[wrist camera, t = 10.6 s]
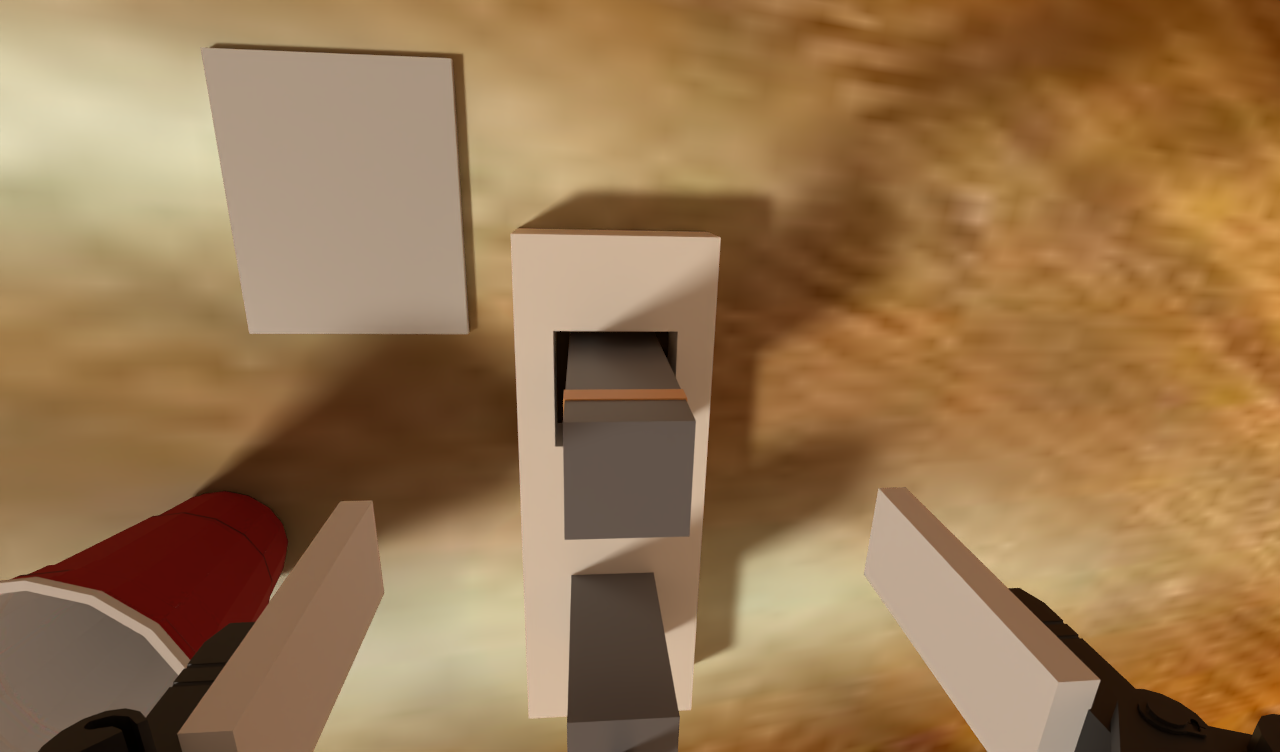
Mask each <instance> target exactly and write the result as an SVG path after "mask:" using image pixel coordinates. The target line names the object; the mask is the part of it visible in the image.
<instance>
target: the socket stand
mask: <svg viewBox="0 0 1280 752" xmlns="http://www.w3.org/2000/svg"><path fill="white" fill-rule="evenodd" d="M720 242H721V237H719V236H716V235H714V234H712V233H709V232H696V231H642V230H588V229H534V228H517V229H516V230H515V231H513V232H512V233H511V257H512V283H513V310H514V337H515V364H516V390H517V417H518V444H519V471H520V497H521V524H522V551H523V578H524V605H525V631H526V658H527V685H528V712H529V718H546V717H565V716H567V747H568V752H678V737H679V719H680V716H679V710H691V702H692V686H693V670H694V654H695V638H696V622H697V607H698V591H699V575H700V559H701V543H702V527H703V512H704V496H705V480H706V464H707V448H708V432H709V417H710V401H711V385H712V369H713V353H714V337H715V321H716V306H717V290H718V274H719V258H720ZM556 331H669V332H668V358H667V360H668V362H669V364H670V367H671V369H672V371H673V373H674V375H675V377H676V379H677V382H678V384H679V386H680V388H681V389H683V390H684V392H685V394H686V396H687V403H688V405H689V407H690V409H691V412H692V414H693V416H694V418H695V420H696V428H695V446H694V464H693V482H692V500H691V518H690V535H689V537H653V538H616V539H579V540H565V538H564V465H563V423H558V417H557V357H556Z"/></svg>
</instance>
